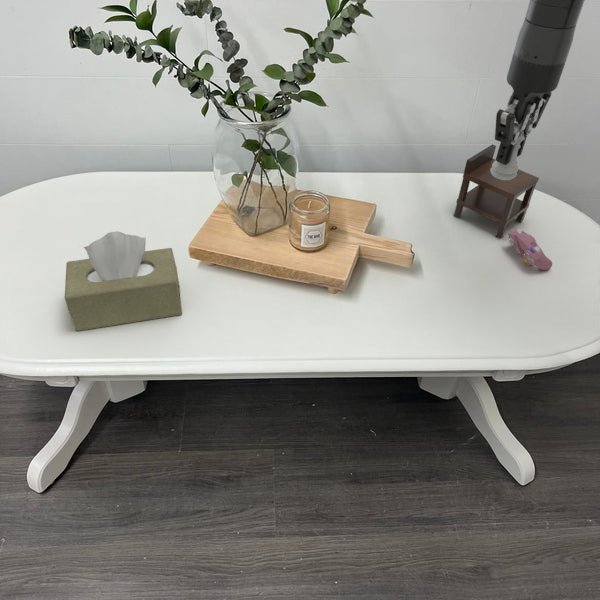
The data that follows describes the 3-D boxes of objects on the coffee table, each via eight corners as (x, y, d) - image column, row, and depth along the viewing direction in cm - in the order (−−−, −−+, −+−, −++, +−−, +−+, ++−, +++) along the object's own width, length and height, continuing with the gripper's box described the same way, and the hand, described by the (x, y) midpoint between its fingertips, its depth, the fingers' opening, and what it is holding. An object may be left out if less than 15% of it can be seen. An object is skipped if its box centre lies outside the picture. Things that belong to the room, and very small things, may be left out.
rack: (523, 221, 127) (543, 164, 118) (500, 239, 122) (519, 182, 112) (477, 199, 133) (492, 144, 124) (452, 216, 128) (466, 159, 118)
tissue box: (178, 280, 109) (167, 211, 99) (184, 314, 103) (173, 244, 92) (75, 295, 106) (52, 224, 95) (74, 332, 99) (49, 260, 88)
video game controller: (507, 250, 121) (502, 229, 116) (526, 239, 121) (522, 217, 116) (534, 280, 115) (530, 258, 110) (555, 268, 114) (551, 246, 109)
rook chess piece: (484, 170, 99) (496, 127, 94) (505, 166, 100) (518, 123, 95) (499, 183, 96) (513, 139, 91) (521, 178, 97) (536, 135, 92)
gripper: (541, 73, 79) (507, 182, 90) (585, 48, 86) (548, 152, 98) (493, 58, 82) (466, 164, 94) (539, 35, 90) (508, 137, 102)
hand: (508, 157), depth 96 cm, fingers closed on rook chess piece, 3 cm apart
